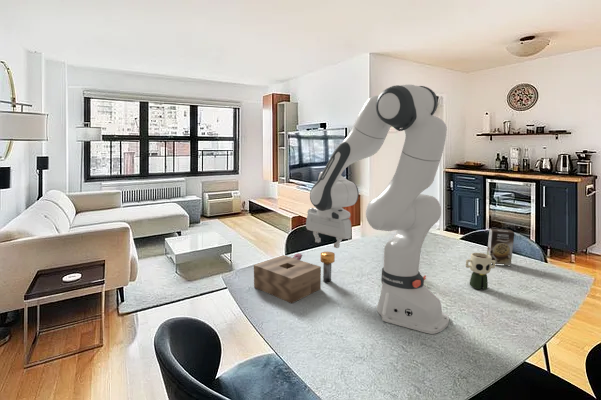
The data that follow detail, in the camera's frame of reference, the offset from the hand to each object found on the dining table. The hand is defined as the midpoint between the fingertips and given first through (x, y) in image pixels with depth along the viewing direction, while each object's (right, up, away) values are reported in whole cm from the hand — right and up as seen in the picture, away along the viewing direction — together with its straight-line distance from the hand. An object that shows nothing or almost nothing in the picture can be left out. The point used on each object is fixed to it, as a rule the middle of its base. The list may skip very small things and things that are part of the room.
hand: (327, 244), depth 136 cm
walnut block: (-16, -16, -5) cm, 23 cm away
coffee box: (+82, -12, +23) cm, 86 cm away
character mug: (+59, -16, -4) cm, 61 cm away
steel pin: (0, -15, +2) cm, 15 cm away
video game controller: (-13, -12, +19) cm, 26 cm away
